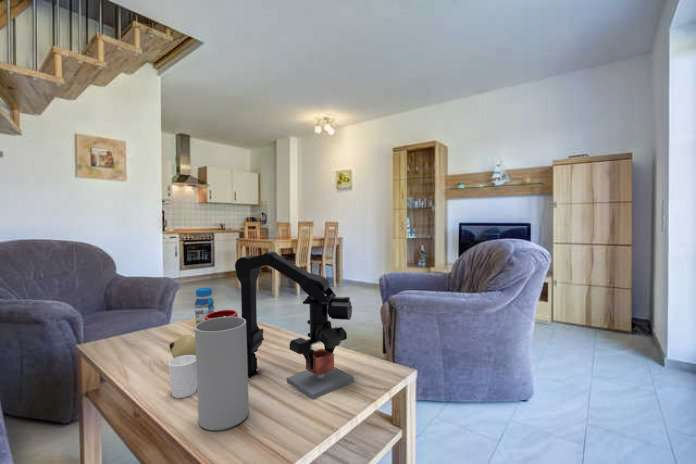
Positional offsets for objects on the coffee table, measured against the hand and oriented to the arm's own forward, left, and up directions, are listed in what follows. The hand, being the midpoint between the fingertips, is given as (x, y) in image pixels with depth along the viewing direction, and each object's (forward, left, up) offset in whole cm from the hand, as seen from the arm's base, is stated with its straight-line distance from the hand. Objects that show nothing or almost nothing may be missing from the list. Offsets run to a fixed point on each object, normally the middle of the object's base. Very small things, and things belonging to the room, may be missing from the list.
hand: (319, 366), depth 108 cm
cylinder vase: (-30, +2, -5) cm, 31 cm away
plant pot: (-9, +58, -5) cm, 59 cm away
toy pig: (-27, +45, -5) cm, 53 cm away
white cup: (-34, +23, -5) cm, 41 cm away
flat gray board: (0, 0, -5) cm, 5 cm away
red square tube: (0, 0, -1) cm, 1 cm away
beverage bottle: (-10, +76, -5) cm, 77 cm away
